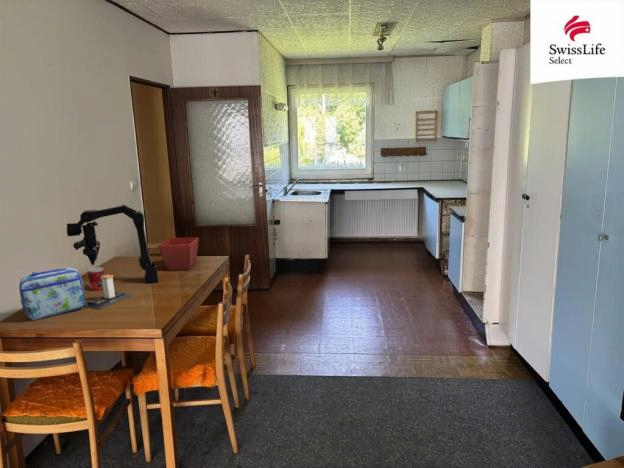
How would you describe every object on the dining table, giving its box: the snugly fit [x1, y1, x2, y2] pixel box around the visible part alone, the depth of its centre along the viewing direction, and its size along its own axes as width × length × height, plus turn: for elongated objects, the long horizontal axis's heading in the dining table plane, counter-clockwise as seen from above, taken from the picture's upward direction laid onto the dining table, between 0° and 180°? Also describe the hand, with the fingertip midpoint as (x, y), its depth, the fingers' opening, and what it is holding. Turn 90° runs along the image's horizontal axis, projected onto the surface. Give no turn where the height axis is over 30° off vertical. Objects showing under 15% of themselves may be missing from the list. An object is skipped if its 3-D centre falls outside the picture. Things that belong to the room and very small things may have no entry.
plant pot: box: [158, 237, 199, 272], centre depth 285 cm, size 19×19×17 cm
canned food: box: [87, 266, 105, 292], centre depth 253 cm, size 8×8×11 cm
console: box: [83, 290, 133, 310], centre depth 234 cm, size 20×12×3 cm, turn 156°
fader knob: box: [100, 274, 115, 299], centre depth 234 cm, size 4×4×11 cm
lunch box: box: [18, 267, 87, 321], centre depth 219 cm, size 26×11×21 cm, turn 123°
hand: (94, 262), depth 251 cm, fingers open, 9 cm apart
